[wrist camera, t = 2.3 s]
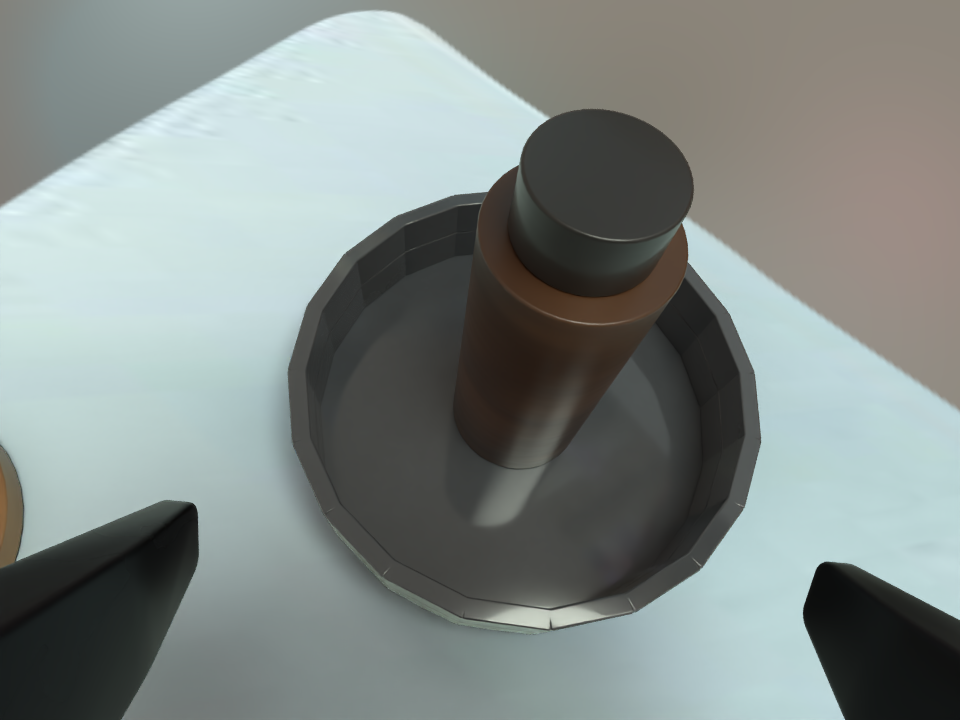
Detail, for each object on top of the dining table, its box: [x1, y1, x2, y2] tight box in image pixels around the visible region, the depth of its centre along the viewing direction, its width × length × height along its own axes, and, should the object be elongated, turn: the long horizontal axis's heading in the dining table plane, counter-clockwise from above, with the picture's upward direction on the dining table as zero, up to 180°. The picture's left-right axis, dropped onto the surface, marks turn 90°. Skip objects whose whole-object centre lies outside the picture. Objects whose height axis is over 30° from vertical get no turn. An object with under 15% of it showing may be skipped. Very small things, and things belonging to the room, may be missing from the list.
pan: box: [288, 192, 761, 635], centre depth 22 cm, size 16×16×4 cm
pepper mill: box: [453, 109, 694, 469], centre depth 18 cm, size 5×5×13 cm
